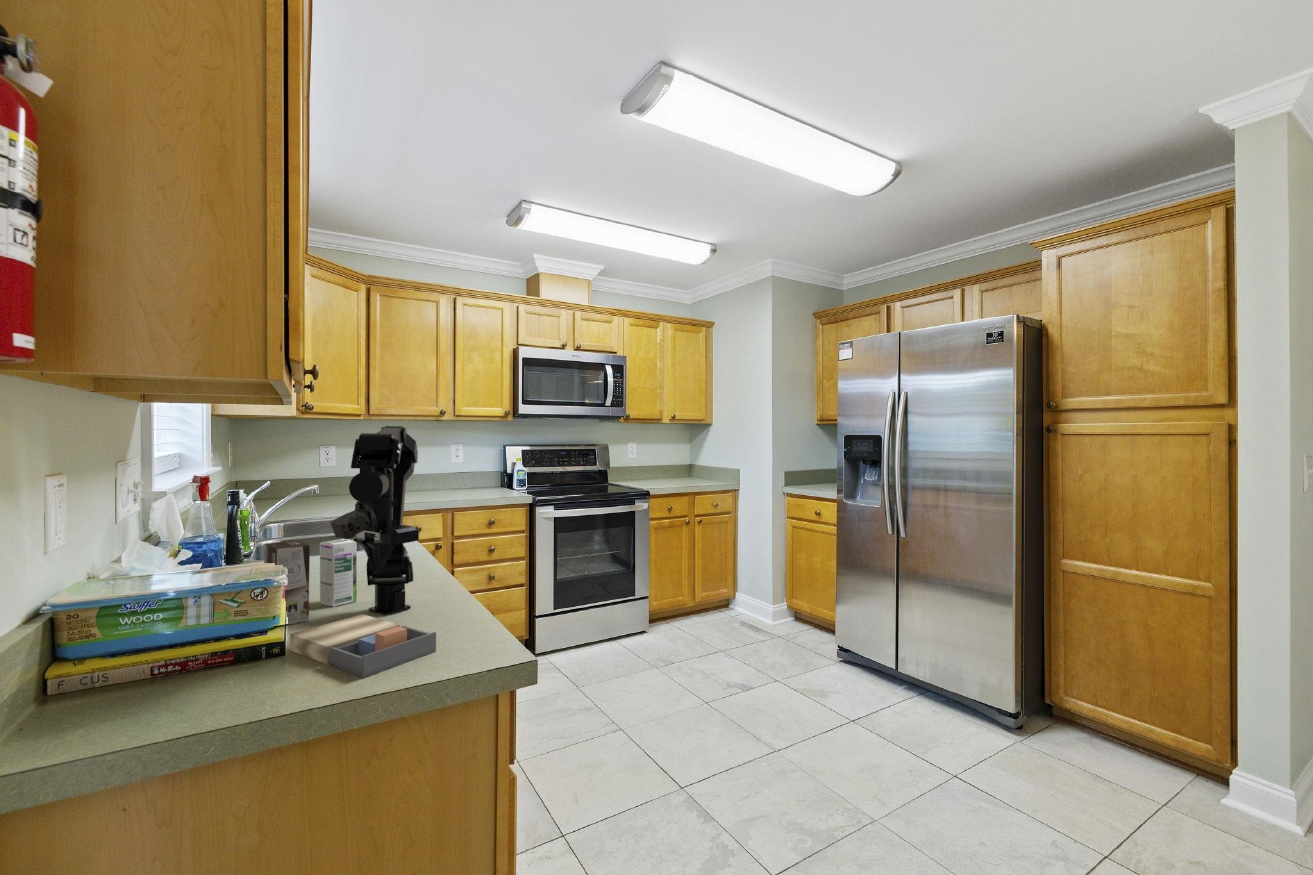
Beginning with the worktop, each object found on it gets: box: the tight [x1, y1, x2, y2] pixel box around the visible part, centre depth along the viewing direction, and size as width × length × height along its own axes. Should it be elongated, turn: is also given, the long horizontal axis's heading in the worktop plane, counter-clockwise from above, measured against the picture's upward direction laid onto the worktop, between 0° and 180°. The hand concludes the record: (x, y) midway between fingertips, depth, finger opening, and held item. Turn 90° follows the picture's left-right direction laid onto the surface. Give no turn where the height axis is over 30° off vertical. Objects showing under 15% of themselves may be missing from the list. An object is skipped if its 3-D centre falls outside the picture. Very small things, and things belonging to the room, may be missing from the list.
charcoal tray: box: [328, 625, 437, 678], centre depth 105 cm, size 10×14×4 cm
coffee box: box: [263, 539, 311, 625], centre depth 125 cm, size 9×6×16 cm
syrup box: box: [319, 538, 358, 608], centre depth 138 cm, size 6×6×14 cm
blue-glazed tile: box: [358, 634, 375, 655], centre depth 106 cm, size 4×4×2 cm
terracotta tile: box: [375, 626, 407, 651], centre depth 104 cm, size 4×4×2 cm
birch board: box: [289, 614, 401, 665], centre depth 111 cm, size 12×14×3 cm
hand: (376, 573), depth 118 cm, fingers closed
